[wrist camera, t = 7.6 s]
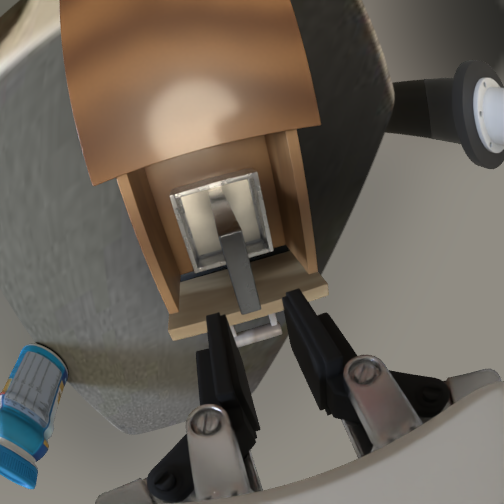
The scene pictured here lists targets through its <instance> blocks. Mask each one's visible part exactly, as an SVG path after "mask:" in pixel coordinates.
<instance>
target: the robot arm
mask: <svg viewBox="0 0 504 504" xmlns="http://www.w3.org/2000/svg"><path fill="white" fill-rule="evenodd" d="M473 110H474V118H475V124H476V128H477V131H478V134H479V137H480V139H481V141H482V143H483V145H484V146H485V148H486V149H487V150H488V151H490V152H493V153H500V152H501V151H502V150H503V149H504V88H500V86H499V85H498V84H497V82H496V81H494V80H493V79H491V78H486V77H484V78H481V79H479V81H478V82H477V84H476V86H475V90H474V97H473ZM282 302H283V307H284V313H285V318H286V323H287V329H288V334H289V339H290V344H291V347H292V350H293V352H294V355H295V356H296V359H297V361H298V363H299V366H300V368H301V370H302V372H303V374H304V376H305V379H306V381H307V383H308V385H309V387H310V390H311V392H312V394H313V396H314V398H315V401H316V403H317V405H318V407H319V409H320V410H323V409H325V411H326V412H327V415H330V414H332V415H333V417H335V418H338V419H341V420H342V423H343V425H344V427H345V430H346V432H347V434H348V436H349V438H350V441H351V443H352V445H353V447H354V450H355V452H356V454H357V457H358V459H356V460H354V461H352V462H350V463H348V464H345V465H342V466H340V467H337V468H335V469H332V470H330V471H327V472H324V473H321V474H319V475H316V476H313V477H310V478H307V479H304V480H301V481H297V482H294V483H290V484H287V485H284V486H280V487H276V488H272V489H268V490H264V491H263V489H262V486H261V483H260V480H259V476H258V473H257V470H256V467H255V464H254V460H253V457H252V454H251V451H250V449H251V448H252V447H253V446H254V444H255V443H256V441H255V439H256V438H257V435H256V431H258V430H260V426H259V422H258V419H257V415H256V411H255V408H254V404H253V400H252V396H251V392H250V389H249V385H248V381H247V377H246V373H245V369H244V365H243V362H242V359H241V356H240V353H239V350H238V348H237V345H236V342H235V340H234V337H233V334H232V331H231V328H230V326H229V323H228V320H227V317H226V315H225V314H224V315H220V313H219V312H218V313H214V314H210V315H207V316H206V323H207V333H208V341H209V349H205V350H201V351H197V352H196V361H197V375H198V387H199V398H200V406H199V407H197V408H195V409H194V410H192V412H191V413H190V414H189V415H188V417H187V420H186V433H187V434H186V435H185V436H184V437H183V438H182V439H181V440H180V441H179V442H178V443H177V444H176V445H175V447H174V448H173V449H172V450H171V451H170V452H169V453H168V454H167V455H166V456H165V457H164V458H163V459H162V460H161V461H160V462H159V463H158V464H157V465H156V466H155V467H154V468H153V469H152V470H151V472H150V473H149V474H148V477H147V478H145V479H143V480H142V479H141V478H139V479H137V480H135V481H132V482H130V483H128V484H125V485H123V486H121V487H118V488H116V489H113V490H110V491H108V492H105V493H103V494H101V495H99V496H98V498H97V499H96V502H95V504H504V381H501V378H500V376H499V374H498V373H497V372H496V371H495V370H492V369H483V370H479V371H476V372H471V373H467V374H463V375H459V376H455V377H450V378H448V379H447V380H446V381H441V380H440V379H436V378H432V377H425V376H418V375H412V374H406V373H401V372H395V371H390V370H388V369H387V367H386V366H385V364H384V363H383V362H382V361H381V360H380V359H379V358H377V357H375V356H372V355H360V356H357V355H356V353H355V352H354V350H353V349H352V347H351V346H350V344H349V343H348V341H347V340H346V338H345V337H344V336H343V334H342V333H341V331H340V330H339V328H338V327H337V326H336V324H335V323H334V321H333V320H332V319H331V317H330V315H329V314H328V313H323V314H320V315H318V316H317V315H316V313H315V312H314V310H313V309H312V307H311V306H310V304H309V302H308V301H307V299H306V298H305V296H304V295H303V293H302V292H301V290H300V289H299V288H298V289H295V290H292V291H289V292H286V296H285V297H282Z"/></svg>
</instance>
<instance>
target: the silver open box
mask: <svg viewBox="0 0 504 504" xmlns="http://www.w3.org/2000/svg"><path fill="white" fill-rule="evenodd" d="M169 197H170V200H171V203H172V206H173V210H174V213H175V216H176V219H177V222H178V225H179V228H180V231H181V234H182V237H183V240H184V243H185V246H186V249H187V252H188V255H189V258H190V261H191V263H192V266H193V269H194V272H195V273H198V272H202V271H206V270H209V269H213V268H216V267H220V266H223V265H226V266H227V269H228V272H229V276H230V279H231V282H232V286H233V289H234V292H235V296H236V299H237V302H238V305H239V309H240V312H241V314H242V315H244V314H248V313H251V312H255V311H258V310H261V304H260V300H259V296H258V292H257V288H256V284H255V280H254V276H253V272H252V268H251V264H250V260H249V258H251V257H254V256H258V255H261V254H265V253H268V252H272V251H274V249H273V244H272V239H271V234H270V229H269V224H268V219H267V214H266V210H265V205H264V200H263V195H262V191H261V186H260V181H259V177H258V172H257V171H256V170H254V169H252V168H247V169H243V170H239V171H235V172H232V173H228V174H224V175H220V176H216V177H213V178H209V179H205V180H202V181H198V182H195V183H191V184H188V185H185V186H181V187H178V188H175V189H172V190H171V193H170V195H169Z"/></svg>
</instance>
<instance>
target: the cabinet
mask: <svg viewBox="0 0 504 504" xmlns="http://www.w3.org/2000/svg"><path fill="white" fill-rule="evenodd" d="M60 23H61V37H62V48H63V57H64V64H65V72H66V78H67V84H68V90H69V95H70V101H71V106H72V110H73V115H74V120H75V124H76V128H77V132H78V136H79V140H80V144H81V148H82V151H83V155H84V159H85V162H86V165H87V169H88V172H89V175H90V179H91V182H92V185H93V186H96V185H98V184H101V183H103V182H106V181H108V180H111V179H113V178H116V177H119V176H121V175H124V174H127V173H130V172H132V171H135V170H138V169H141V168H144V167H147V166H150V165H153V164H156V163H159V162H162V161H165V160H168V159H171V158H175V157H178V156H181V155H185V154H188V153H192V152H195V151H199V150H202V149H206V148H210V147H214V146H218V145H222V144H226V143H230V142H234V141H238V140H243V139H247V138H252V137H256V136H261V135H266V134H271V133H276V132H282V131H287V130H293V129H299V128H305V127H312V126H318V125H321V122H320V116H319V111H318V106H317V101H316V96H315V92H314V87H313V82H312V78H311V74H310V69H309V65H308V61H307V57H306V53H305V49H304V46H303V42H302V38H301V35H300V31H299V27H298V24H297V21H296V17H295V14H294V11H293V8H292V4H291V1H290V0H60Z"/></svg>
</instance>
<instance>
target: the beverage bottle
mask: <svg viewBox="0 0 504 504" xmlns="http://www.w3.org/2000/svg"><path fill="white" fill-rule="evenodd" d="M67 378H68V371H67V368H66V366H65V364H64V363H63V361H62V360H61V359H60V358H59V357H58V356H57V355H56V354H55V353H54V352H53V351H51V350H50V349H48V348H46V347H44V346H42V345H39V344H28V345H26V346H24V347H23V349H22V351H21V353H20V356H19V358H18V360H17V362H16V364H15V366H14V368H13V370H12V372H11V374H10V377H9V379H8V381H7V383H6V385H5V387H4V389H3V391H2V392H1V393H0V474H1V475H2V476H4V477H5V478H7V479H9V480H11V481H12V482H14V483H16V484H18V485H21V486H23V487H26V488H29V489H34V488H35V485H36V480H37V474H38V470H37V469H38V468H37V466H36V465H35V464H34V463H35V462H37V461H38V460H40V459H41V458H42V457H43V456H44V455H45V453H46V452H47V451H48V447H49V445H48V441H47V440H48V439H49V438H50V437H51V436H52V434H53V430H54V424H53V423H54V419H55V415H56V411H57V408H58V404H59V401H60V397H61V394H62V391H63V388H64V386H65V384H66V381H67Z"/></svg>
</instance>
